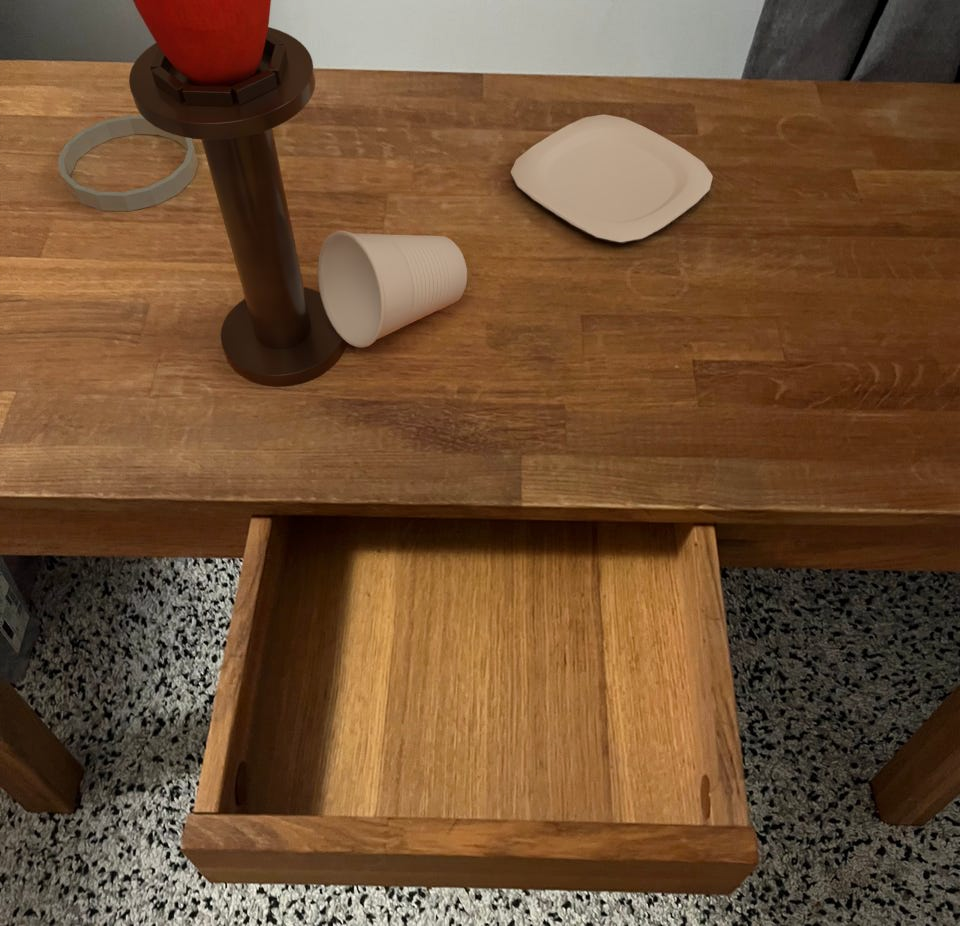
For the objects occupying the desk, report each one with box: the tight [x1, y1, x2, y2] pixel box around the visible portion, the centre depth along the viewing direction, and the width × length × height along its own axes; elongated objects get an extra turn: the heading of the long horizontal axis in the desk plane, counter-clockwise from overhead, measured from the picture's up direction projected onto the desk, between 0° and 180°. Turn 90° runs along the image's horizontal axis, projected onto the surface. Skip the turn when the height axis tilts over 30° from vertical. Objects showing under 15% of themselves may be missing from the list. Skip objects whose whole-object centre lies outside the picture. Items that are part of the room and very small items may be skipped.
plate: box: [510, 114, 714, 245], centre depth 92 cm, size 18×18×2 cm
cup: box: [317, 230, 468, 349], centre depth 77 cm, size 10×10×11 cm
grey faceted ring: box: [57, 114, 199, 212], centre depth 92 cm, size 14×14×2 cm
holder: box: [128, 26, 347, 387], centre depth 68 cm, size 12×12×27 cm
